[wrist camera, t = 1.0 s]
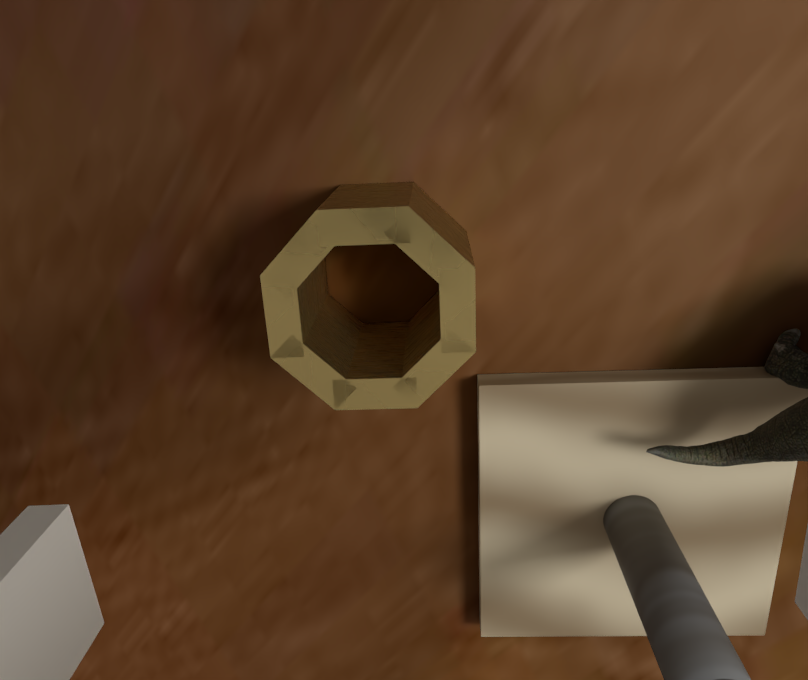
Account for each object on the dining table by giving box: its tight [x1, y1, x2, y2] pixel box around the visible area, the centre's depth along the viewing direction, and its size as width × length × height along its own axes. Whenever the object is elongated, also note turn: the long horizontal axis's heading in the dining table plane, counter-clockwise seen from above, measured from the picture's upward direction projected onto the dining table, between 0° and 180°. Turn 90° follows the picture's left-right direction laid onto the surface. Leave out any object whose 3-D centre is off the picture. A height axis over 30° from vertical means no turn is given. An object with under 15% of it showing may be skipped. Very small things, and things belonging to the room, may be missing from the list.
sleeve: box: [260, 182, 476, 410], centre depth 25 cm, size 7×7×6 cm
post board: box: [477, 367, 808, 680], centre depth 26 cm, size 14×14×12 cm
